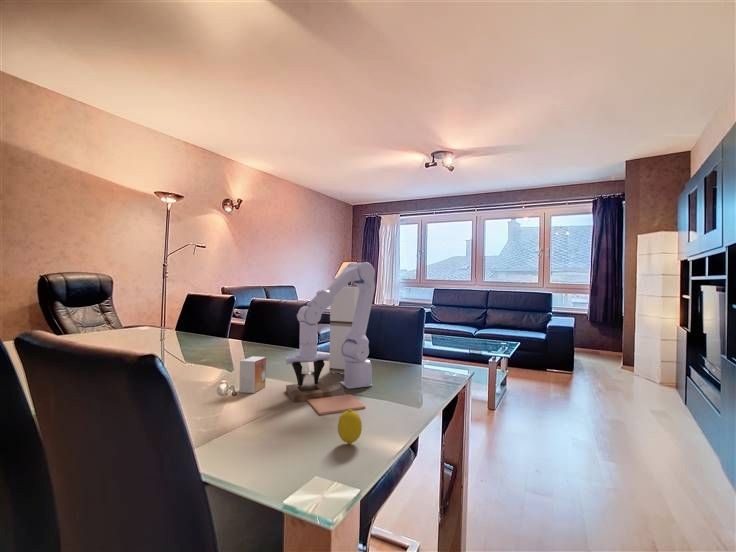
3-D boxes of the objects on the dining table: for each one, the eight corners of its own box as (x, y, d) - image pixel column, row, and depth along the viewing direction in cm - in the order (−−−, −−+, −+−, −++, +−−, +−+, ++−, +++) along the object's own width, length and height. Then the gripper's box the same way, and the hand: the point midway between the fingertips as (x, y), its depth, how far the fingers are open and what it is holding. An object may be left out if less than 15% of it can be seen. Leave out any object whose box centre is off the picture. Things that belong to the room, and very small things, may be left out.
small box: (254, 393, 119) (254, 361, 119) (238, 392, 120) (239, 360, 120) (266, 386, 127) (266, 356, 127) (251, 385, 128) (251, 355, 128)
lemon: (337, 439, 86) (337, 405, 86) (360, 438, 86) (361, 405, 86) (337, 450, 80) (337, 414, 80) (362, 449, 81) (362, 413, 81)
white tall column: (353, 375, 143) (354, 286, 144) (329, 372, 147) (330, 286, 148) (363, 369, 154) (365, 286, 155) (341, 366, 158) (342, 286, 158)
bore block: (320, 387, 127) (320, 381, 127) (331, 397, 116) (331, 391, 116) (286, 391, 122) (286, 385, 122) (294, 402, 111) (294, 395, 111)
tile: (350, 396, 118) (350, 394, 118) (365, 408, 107) (365, 406, 107) (308, 401, 112) (308, 399, 112) (319, 414, 101) (319, 412, 101)
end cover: (312, 389, 122) (312, 370, 122) (316, 393, 118) (317, 373, 118) (298, 391, 120) (298, 371, 120) (302, 395, 116) (302, 375, 116)
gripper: (288, 346, 113) (288, 390, 113) (333, 343, 119) (332, 385, 119) (284, 342, 119) (283, 384, 119) (326, 340, 125) (325, 379, 125)
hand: (307, 384), depth 119 cm, fingers closed on end cover, 5 cm apart
